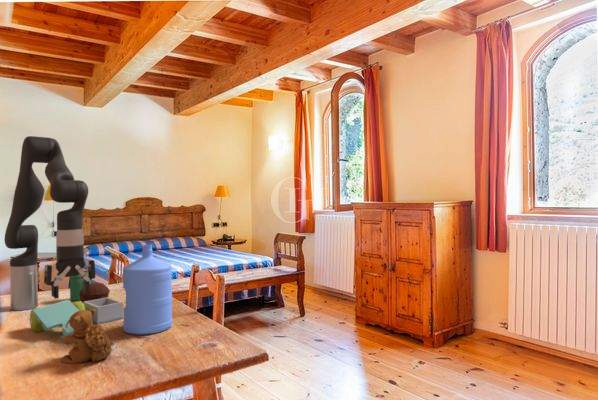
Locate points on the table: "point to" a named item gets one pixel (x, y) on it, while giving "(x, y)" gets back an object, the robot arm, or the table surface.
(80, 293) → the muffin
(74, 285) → the beverage can
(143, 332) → the water jug
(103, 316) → the tub
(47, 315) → the teal flat paddle shape
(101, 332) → the stuffed squirrel
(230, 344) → the table surface
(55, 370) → the table surface
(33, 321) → the dumbbell
